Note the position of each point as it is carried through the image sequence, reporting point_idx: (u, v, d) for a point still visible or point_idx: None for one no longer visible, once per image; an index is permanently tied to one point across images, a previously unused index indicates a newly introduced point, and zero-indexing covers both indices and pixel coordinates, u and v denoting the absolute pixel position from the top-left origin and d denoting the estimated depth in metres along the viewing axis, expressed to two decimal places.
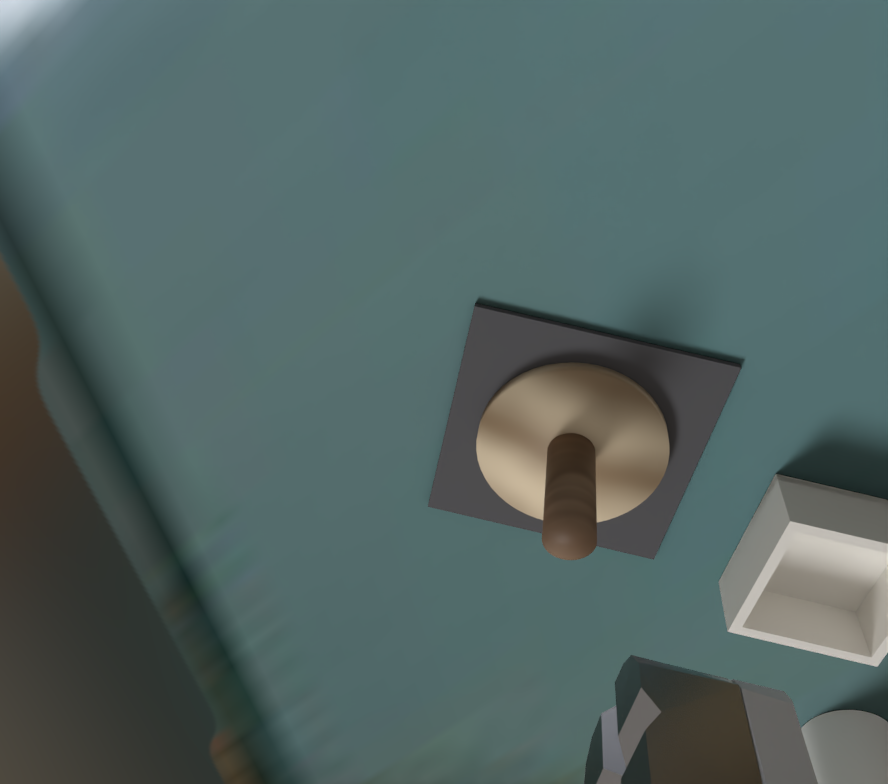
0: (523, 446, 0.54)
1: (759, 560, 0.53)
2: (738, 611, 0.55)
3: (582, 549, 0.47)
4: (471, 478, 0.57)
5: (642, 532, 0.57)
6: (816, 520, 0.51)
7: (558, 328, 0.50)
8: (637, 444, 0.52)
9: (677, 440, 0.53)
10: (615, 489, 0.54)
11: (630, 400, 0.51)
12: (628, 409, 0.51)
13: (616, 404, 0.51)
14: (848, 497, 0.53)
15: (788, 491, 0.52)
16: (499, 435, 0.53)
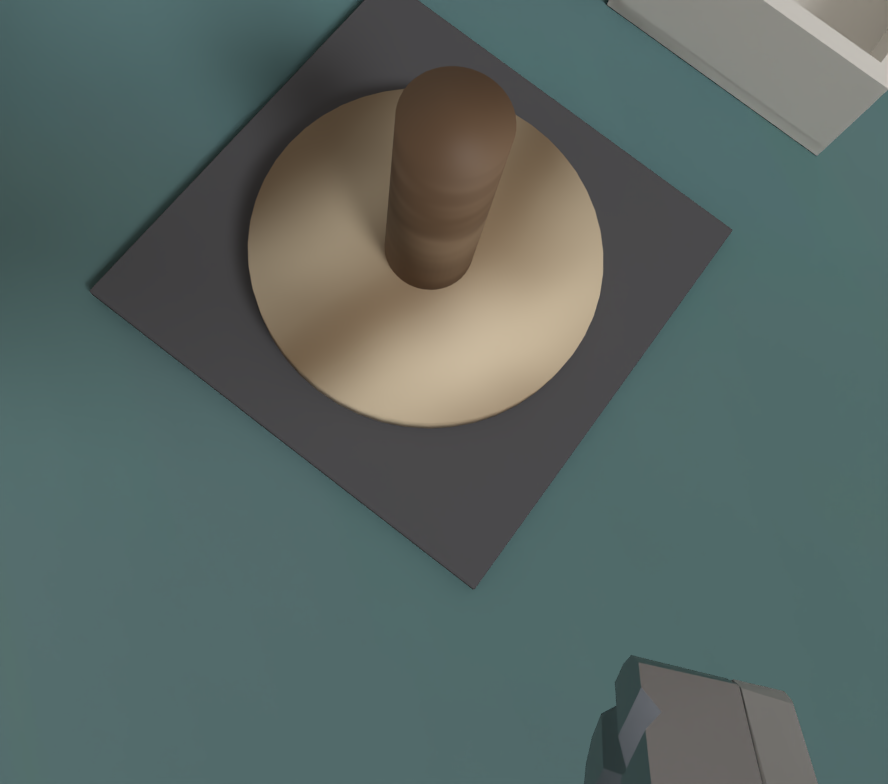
0: (384, 320, 0.28)
1: (735, 6, 0.29)
2: (840, 57, 0.28)
3: (491, 107, 0.21)
4: (437, 467, 0.28)
5: (663, 224, 0.31)
6: None
7: (196, 185, 0.29)
8: None
9: None
10: (536, 209, 0.29)
11: (361, 118, 0.29)
12: (377, 127, 0.29)
13: (359, 140, 0.29)
14: None
15: None
16: (343, 351, 0.27)
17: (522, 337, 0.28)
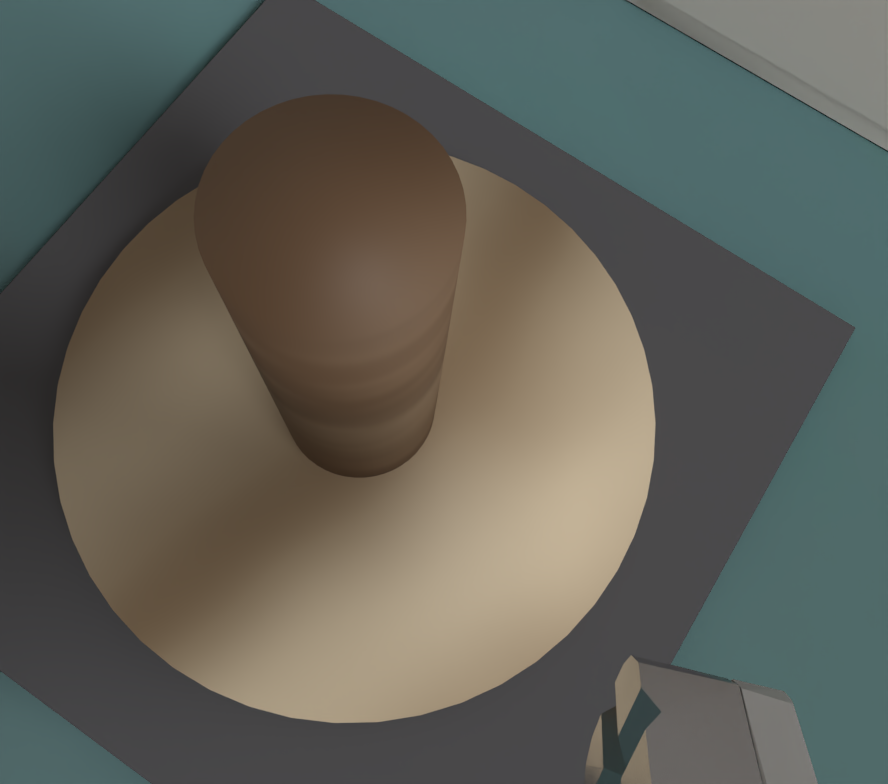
0: (288, 539, 0.16)
1: None
2: None
3: (409, 174, 0.10)
4: None
5: (743, 326, 0.19)
6: None
7: None
8: None
9: None
10: (536, 323, 0.18)
11: None
12: None
13: None
14: None
15: None
16: (218, 602, 0.16)
17: (528, 547, 0.16)
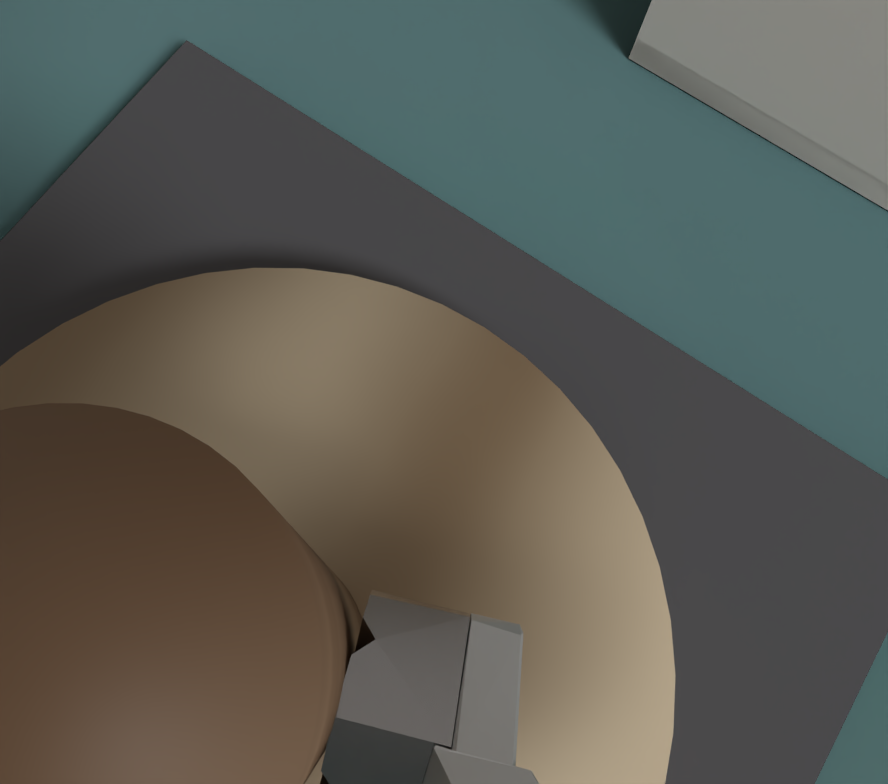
0: None
1: None
2: None
3: (205, 585, 0.05)
4: None
5: (794, 515, 0.14)
6: None
7: None
8: (313, 381, 0.13)
9: (391, 278, 0.15)
10: (509, 528, 0.13)
11: (104, 349, 0.13)
12: (141, 367, 0.13)
13: (100, 402, 0.13)
14: None
15: None
16: None
17: None
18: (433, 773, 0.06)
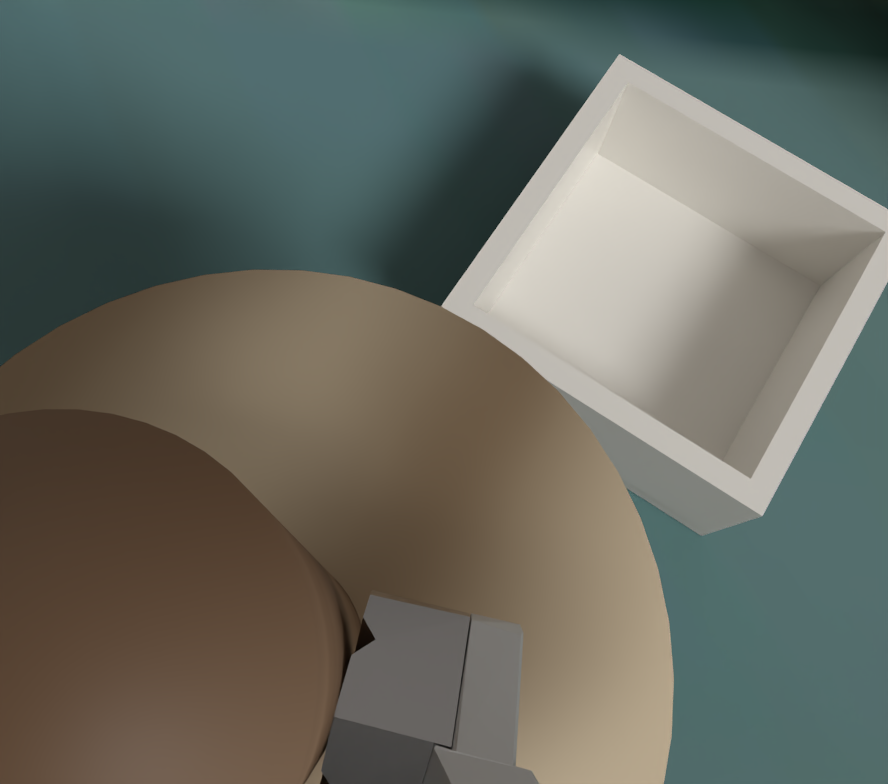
0: None
1: None
2: (697, 476, 0.22)
3: (201, 592, 0.05)
4: None
5: None
6: None
7: None
8: (311, 384, 0.13)
9: None
10: (508, 531, 0.13)
11: (103, 351, 0.13)
12: (139, 369, 0.13)
13: (98, 404, 0.13)
14: None
15: None
16: None
17: None
18: (433, 773, 0.06)
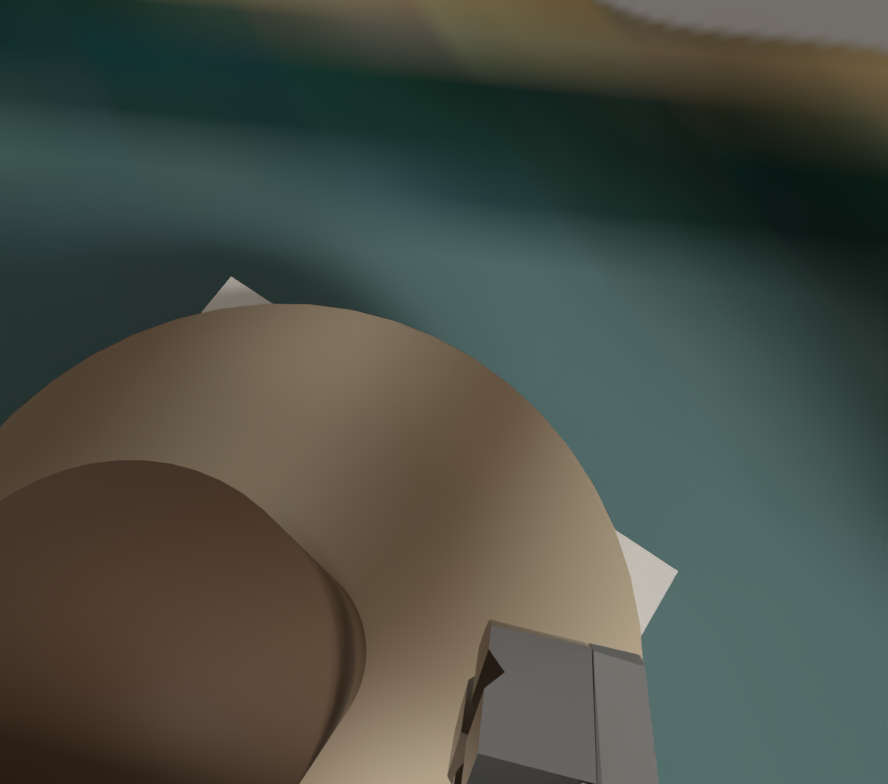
0: None
1: None
2: None
3: (240, 602, 0.06)
4: None
5: None
6: None
7: None
8: (318, 408, 0.15)
9: None
10: (494, 541, 0.14)
11: (129, 378, 0.15)
12: (162, 395, 0.15)
13: (126, 427, 0.14)
14: None
15: None
16: None
17: None
18: None
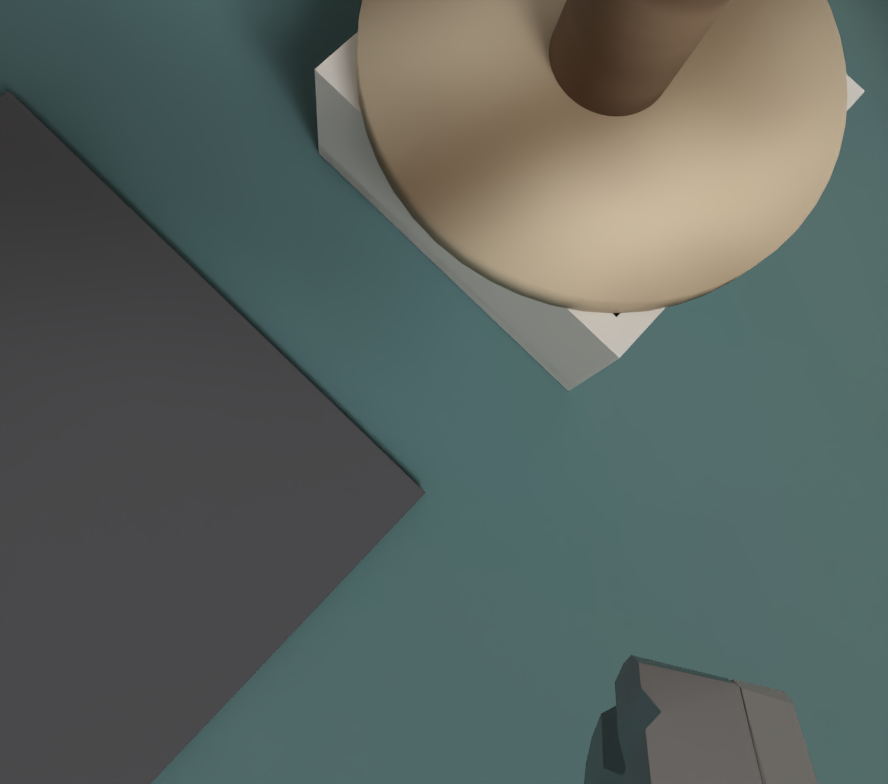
0: (541, 150, 0.20)
1: None
2: None
3: None
4: None
5: (330, 476, 0.23)
6: None
7: None
8: None
9: (110, 281, 0.23)
10: (761, 24, 0.21)
11: None
12: None
13: None
14: None
15: None
16: (480, 185, 0.19)
17: (730, 197, 0.20)
18: None
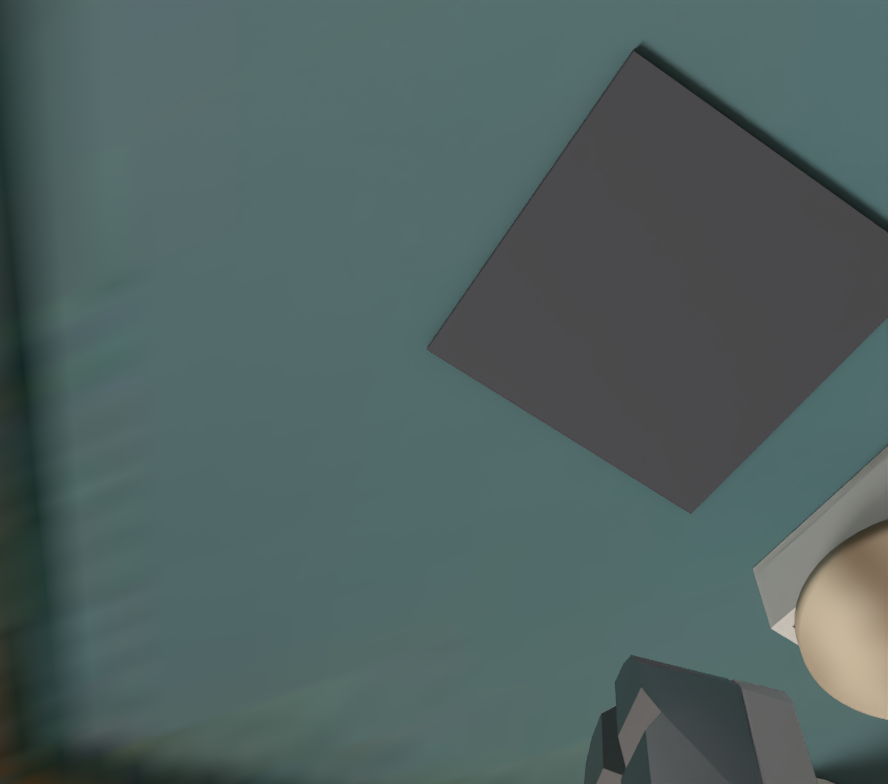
0: (881, 603, 0.38)
1: None
2: None
3: None
4: (506, 324, 0.40)
5: (695, 471, 0.42)
6: None
7: (731, 127, 0.35)
8: None
9: (804, 349, 0.39)
10: None
11: None
12: None
13: None
14: None
15: None
16: (859, 580, 0.38)
17: (858, 678, 0.41)
18: None
